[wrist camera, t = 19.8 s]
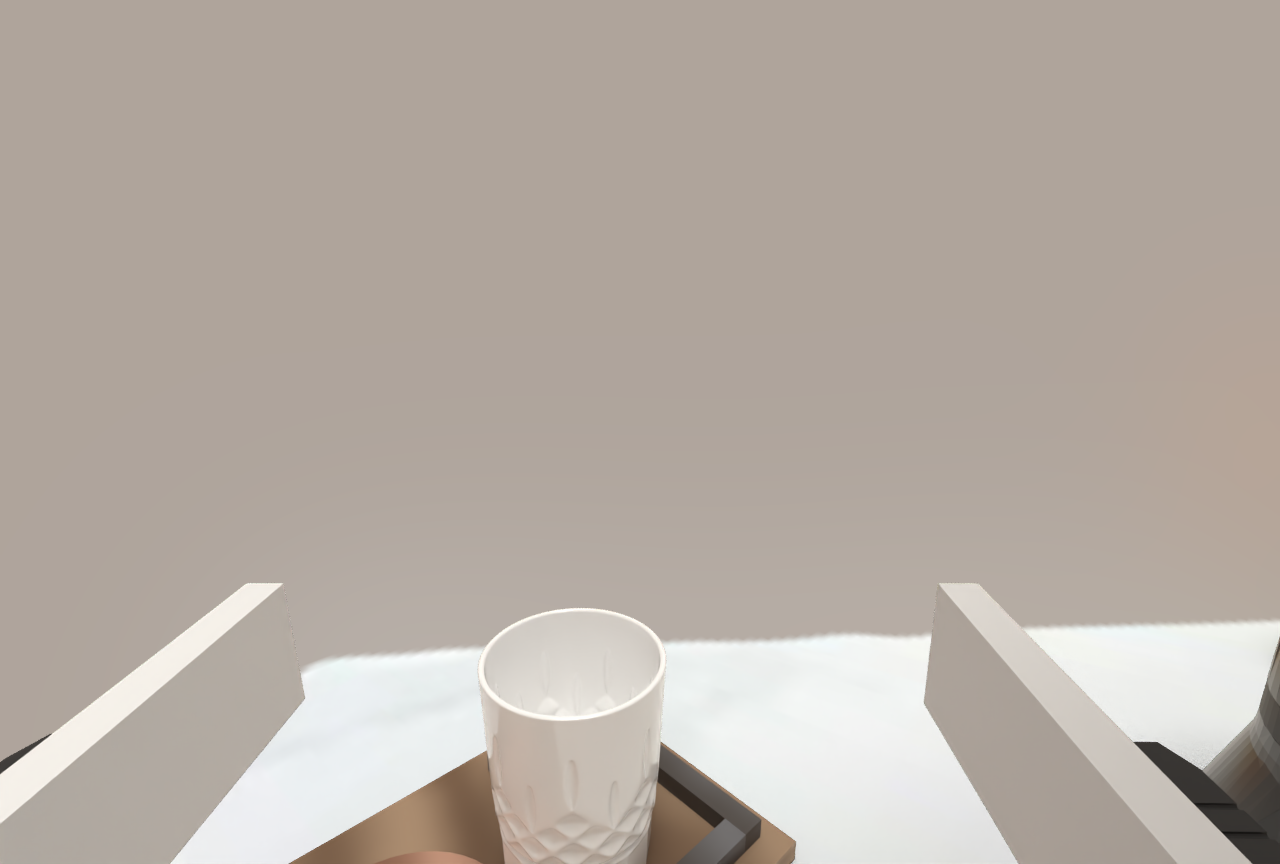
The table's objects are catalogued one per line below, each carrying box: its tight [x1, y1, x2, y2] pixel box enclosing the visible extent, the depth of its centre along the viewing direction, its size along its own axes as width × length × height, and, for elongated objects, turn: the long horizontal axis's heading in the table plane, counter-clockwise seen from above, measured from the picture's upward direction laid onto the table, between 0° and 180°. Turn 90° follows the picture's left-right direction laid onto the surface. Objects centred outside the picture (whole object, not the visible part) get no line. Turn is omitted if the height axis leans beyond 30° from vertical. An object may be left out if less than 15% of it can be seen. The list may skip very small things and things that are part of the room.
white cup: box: [478, 608, 666, 864], centre depth 28 cm, size 8×8×10 cm
